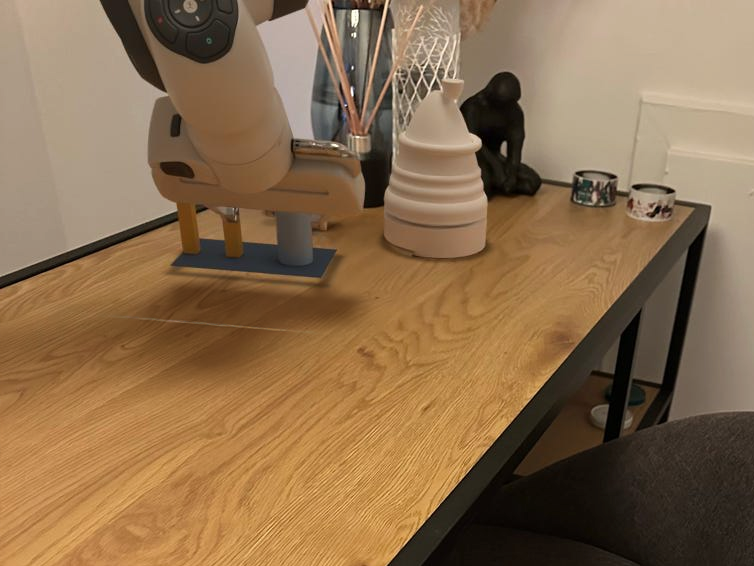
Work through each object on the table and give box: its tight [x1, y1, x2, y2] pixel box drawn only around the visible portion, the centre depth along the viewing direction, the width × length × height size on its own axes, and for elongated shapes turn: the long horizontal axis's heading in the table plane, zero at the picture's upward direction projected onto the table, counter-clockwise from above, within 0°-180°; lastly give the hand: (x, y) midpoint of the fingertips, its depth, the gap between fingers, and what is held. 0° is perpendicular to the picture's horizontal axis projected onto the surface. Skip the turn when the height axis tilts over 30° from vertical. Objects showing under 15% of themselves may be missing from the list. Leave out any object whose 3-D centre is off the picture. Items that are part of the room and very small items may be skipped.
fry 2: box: [221, 214, 243, 258], centre depth 106 cm, size 2×2×6 cm
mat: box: [170, 237, 338, 279], centre depth 108 cm, size 17×10×1 cm, turn 86°
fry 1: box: [175, 203, 201, 254], centre depth 106 cm, size 2×2×6 cm
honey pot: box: [383, 77, 489, 259], centre depth 113 cm, size 13×13×18 cm
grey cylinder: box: [274, 211, 314, 266], centre depth 105 cm, size 4×4×10 cm
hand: (276, 220), depth 99 cm, fingers open, 8 cm apart
